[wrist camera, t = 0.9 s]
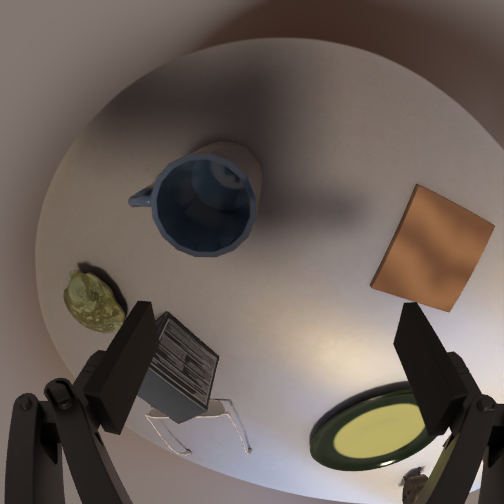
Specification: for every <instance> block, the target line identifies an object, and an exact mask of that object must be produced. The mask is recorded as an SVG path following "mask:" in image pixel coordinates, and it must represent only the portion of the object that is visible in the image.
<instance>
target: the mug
mask: <svg viewBox="0 0 504 504" xmlns="http://www.w3.org/2000/svg"><path fill="white" fill-rule="evenodd" d="M261 189H262V170H261V167H260V164H259V162H258V160H257V159H256V157H255V156H254V155H253V153H252V152H251V151H249V150H248V149H247V148H245V147H244V146H242V145H240V144H238V143H234V142H229V141H221V142H214V143H212V144H210V145H207V146H205V147H203V148H201V149H198V150H196V151H194V152H192V153H190V154H188V155H185V156H183V157H181V158H179V159H177V160H175V161H173V162H171V163H170V164H168V166H167V167H166V168H165V169H164V170H163V172H162V173H161V174H160V175H159V176H158V178H157V179H156V181H155V182H154V183H152V184H151V185H149V186H147V187H146V188H144V189H142V190H141V191H139V192H138V193H136V194H134V195H133V196H131V197H130V198H129V200H128V203H129V205H130V206H131V207H152V217H153V220H154V222H155V224H156V226H157V228H158V230H159V231H160V233H161V235H162V237H163V238H165V239H166V240H167V241H168V242H169V243H170V244H171V245H172V246H173V247H175V248H176V249H177V250H179V251H182V252H184V253H187V254H189V255H192V256H194V257H218V256H220V255H223V254H226V253H228V252H231V251H234V250H235V249H236V248H237V247H238V246H239V245H240V244H241V243H242V242H243V241H244V240H246V239H247V238H248V236H249V234H250V232H251V230H252V227H253V225H254V223H255V220H256V217H257V212H258V206H259V200H260V195H261Z"/></svg>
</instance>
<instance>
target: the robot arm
mask: <svg viewBox="0 0 504 504" xmlns="http://www.w3.org/2000/svg"><path fill="white" fill-rule="evenodd" d="M159 344H160V340H159V335H158V331H157V327H156V322H155V318H154V313H153V309H152V304H151V302H148V301H138V302H137V303H136V305H135V306H134V308H133V309H132V311H131V312H130V314H129V315H128V317H127V318H126V320H125V322H124V323H123V325H122V326H121V328H120V329H119V331H118V333H117V334H116V336H115V337H114V339H113V340H112V342H111V344H110V345H109V347H108V349H107V350H106V351H102V350H98V351H97V352H95V353H94V354H93V355H92V356H90V358H89V360H88V361H87V363H86V365H85V366H84V367H83V369H82V371H81V372H80V374H79V375H78V377H77V378H76V380H75V382H74V384H73V385H72V384H71V383H70V381H69V380H67V379H65V378H57V379H54V380H52V381H50V382H49V383H48V384H47V385H46V387H45V389H44V394H45V396H46V398H47V399H48V401H38V399H37V397H36V396H35V395H33V394H32V393H26V394H22V395H21V396H19V397H18V398H17V399H16V400H15V403H14V406H13V411H12V418H11V425H10V432H9V440H8V449H7V461H6V474H5V504H65V497H64V485H63V469H62V447H63V450H64V453H65V456H66V460H67V463H68V466H69V469H70V472H71V475H72V478H73V480H74V483H75V486H76V489H77V491H78V494H79V496H80V499H81V501H82V504H133V503H132V501H131V500H130V497H129V495H128V494H127V492H126V490H125V488H124V486H123V484H122V482H121V480H120V478H119V476H118V474H117V472H116V470H115V468H114V466H113V463H112V461H111V459H110V457H109V455H108V452H107V450H106V448H105V446H104V443H103V441H102V439H101V436H100V434H99V432H98V431H97V430H98V428H99V426H100V424H101V425H102V427H103V429H104V431H105V432H109V433H113V434H118V435H120V434H121V431H122V429H123V427H124V424H125V422H126V419H127V417H128V415H129V412H130V410H131V408H132V405H133V403H134V401H135V398H136V396H137V394H138V391H139V389H140V387H141V384H142V382H143V380H144V377H145V375H146V373H147V371H148V368H149V366H150V364H151V362H152V359H153V357H154V355H155V353H156V351H157V348H158V346H159ZM393 344H394V347H395V349H396V352H397V354H398V356H399V359H400V361H401V364H402V366H403V369H404V371H405V374H406V376H407V379H408V381H409V384H410V386H411V389H412V391H413V394H414V397H415V399H416V402H417V405H418V407H419V410H420V413H421V416H422V418H423V421H424V424H425V427H426V430H427V433H428V436H429V438H430V437H435V436H439V435H444V433H445V432H446V430H447V429H448V427H450V430H451V432H452V433H451V435H450V436H449V438H448V439H447V440H446V442H445V443H444V445H443V447H444V449H443V451H442V453H441V455H440V457H439V459H438V461H437V463H436V465H435V467H434V469H433V471H432V473H431V475H430V477H429V479H428V480H427V482H426V484H425V486H424V488H423V489H422V491H421V493H420V495H419V496H418V498H417V500H416V501H415V503H414V504H464V503H465V501H466V499H467V496H468V494H469V492H470V489H471V487H472V485H473V482H474V480H475V477H476V475H477V472H478V469H479V467H480V464H481V461H482V458H483V455H484V462H483V472H482V480H481V488H480V494H479V501H478V504H504V404H497V403H496V402H495V400H494V399H493V398H492V397H490V396H488V395H484V394H482V393H481V391H480V389H479V388H478V386H477V384H476V382H475V380H474V379H473V377H472V375H471V373H469V372H470V371H469V370H468V368H467V367H466V365H465V363H464V361H463V359H462V358H461V357H460V356H459V355H458V354H456V353H455V352H446V350H445V348H444V347H443V345H442V343H441V341H440V340H439V338H438V336H437V335H436V333H435V331H434V330H433V328H432V326H431V325H430V323H429V321H428V320H427V318H426V316H425V315H424V313H423V312H422V310H421V308H420V307H419V305H418V304H417V302H411V303H404V305H403V309H402V313H401V317H400V321H399V325H398V328H397V332H396V336H395V340H394V343H393Z"/></svg>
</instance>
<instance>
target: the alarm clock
mask: <svg viewBox="0 0 504 504" xmlns="http://www.w3.org/2000/svg"><path fill="white" fill-rule="evenodd" d="M420 469H421V468H420V467H419V468H418V475H417V476H412V477H409V478H408V479H406V478H405V477H403V478H404V479H405V484H404V487H403V496H402V497H403V499H402V501H403V504H414V503H415V501H416V500H417V498H418V496H419V495H420V493H421V491H422V489H423V488H424V486H425V484H426V482H427V480H428V477H427V476H426V475H424V474H422V475H420Z"/></svg>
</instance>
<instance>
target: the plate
mask: <svg viewBox="0 0 504 504" xmlns="http://www.w3.org/2000/svg"><path fill="white" fill-rule="evenodd" d="M436 437H437V436H435V437H430V438H429V436H428V433H427V430H426V427H425V424H424V421H423V418H422V416H421V413H420V410H419V407H418V405H417V402H416V399H415V397H414V394H413V391H412V389H404V390H399V391H395V392H391V393H387V394H383V395H380V396H376V397H373V398H370V399H368V400H365V401H362V402H360V403H358V404H355V405H353V406H351V407H349V408H347V409H345V410H343V411H342V412H340V413H338V414H337V415H335V416H334V417H332V418H331V419H330V420H328V421H327V422H326V423H325V424H324V425H322V426H321V427H320V428H319V430H318V431H317V432H316V433H315V435H314V436H313V438H312V441H311V444H310V453H311V456H312V457H313V459H314V460H316V461H317V462H318V463H320V464H322V465H323V466H326V467H328V468H331V469H335V470H341V471H365V470H372V469H377V468H381V467H385V466H388V465H391V464H394V463H397V462H399V461H402V460H404V459H406V458H408V457H410V456H412V455H414V454H415V453H417V452H419V451H420V450H422V449H423V448H424V447H426V446H427V445H428V444H430V443H431V442H432V441H433V440H434V439H435V438H436Z"/></svg>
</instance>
